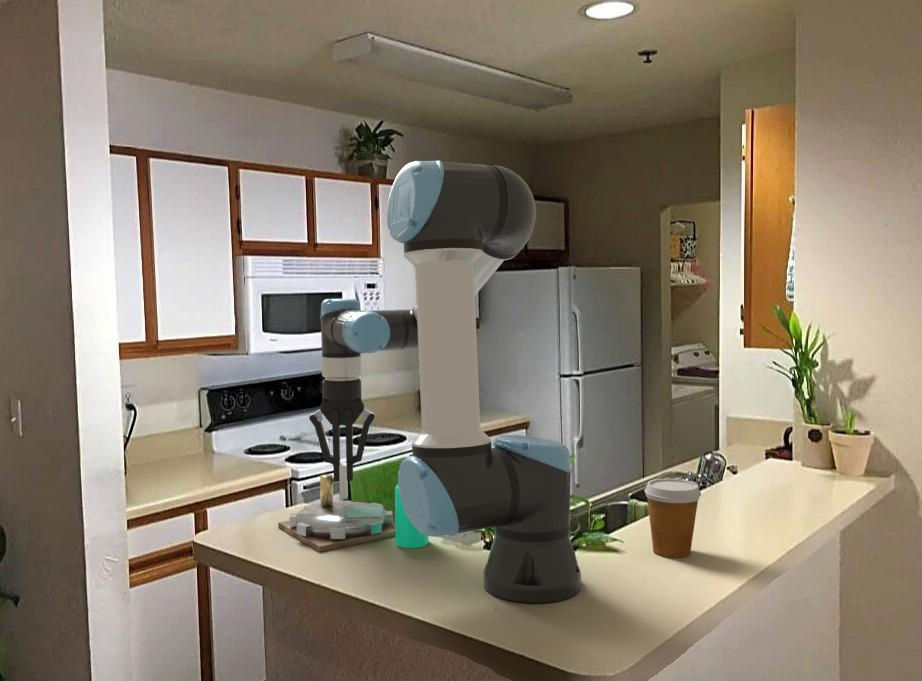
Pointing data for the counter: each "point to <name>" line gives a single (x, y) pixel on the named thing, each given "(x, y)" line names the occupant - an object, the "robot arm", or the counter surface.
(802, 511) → the counter surface
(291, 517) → the turntable
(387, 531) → the base board
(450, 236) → the robot arm
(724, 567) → the counter surface
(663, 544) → the disposable coffee cup
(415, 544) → the candle
